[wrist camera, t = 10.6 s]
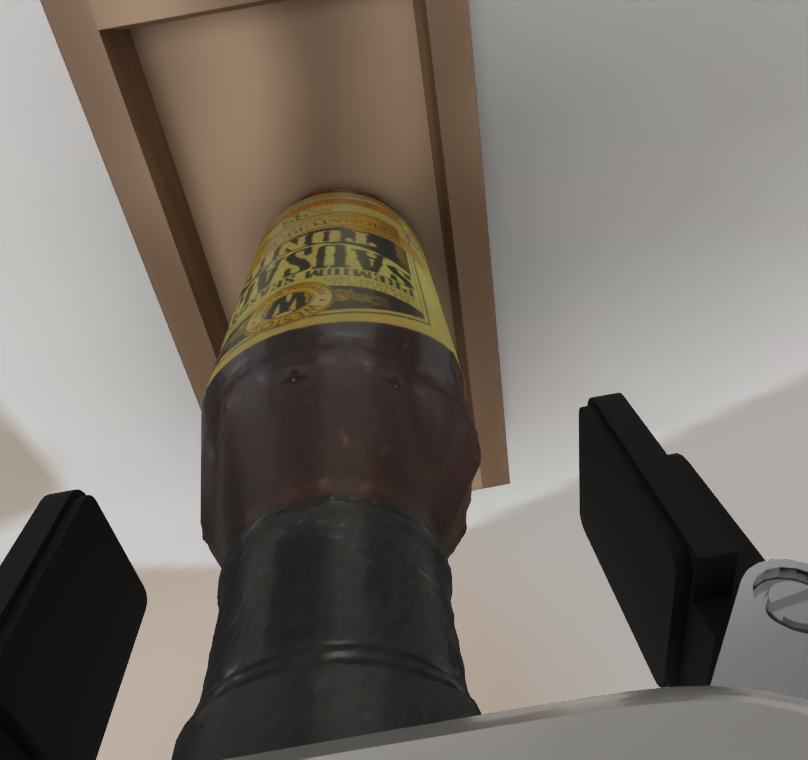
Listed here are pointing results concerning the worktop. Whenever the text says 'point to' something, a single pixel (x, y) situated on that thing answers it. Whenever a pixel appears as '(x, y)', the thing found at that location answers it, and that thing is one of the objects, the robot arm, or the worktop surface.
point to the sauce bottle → (333, 490)
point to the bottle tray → (289, 150)
